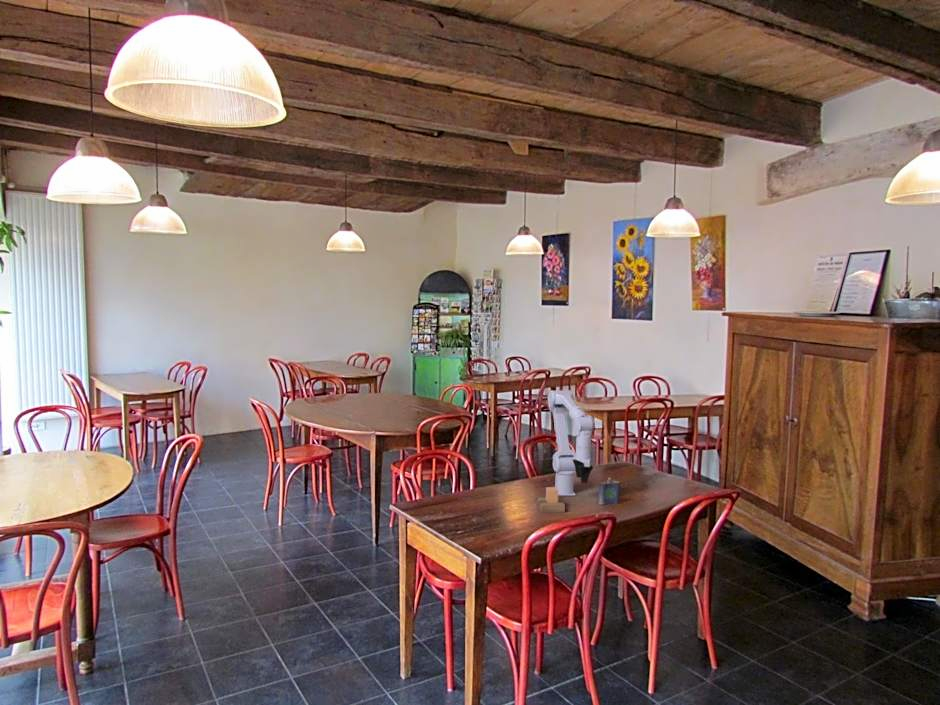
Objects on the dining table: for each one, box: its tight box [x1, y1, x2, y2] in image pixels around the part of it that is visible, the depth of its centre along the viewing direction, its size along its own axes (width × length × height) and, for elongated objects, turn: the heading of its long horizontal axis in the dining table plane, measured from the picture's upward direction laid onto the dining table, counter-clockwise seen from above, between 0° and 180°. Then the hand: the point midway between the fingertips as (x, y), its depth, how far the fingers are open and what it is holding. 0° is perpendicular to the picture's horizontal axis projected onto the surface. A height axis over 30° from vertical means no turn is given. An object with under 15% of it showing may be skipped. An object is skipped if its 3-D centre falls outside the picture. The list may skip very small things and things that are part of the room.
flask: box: [597, 477, 621, 506], centre depth 261 cm, size 9×3×11 cm, turn 109°
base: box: [537, 497, 566, 513], centre depth 253 cm, size 9×9×3 cm
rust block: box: [545, 486, 559, 503], centre depth 253 cm, size 4×4×5 cm
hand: (581, 479), depth 258 cm, fingers open, 7 cm apart
